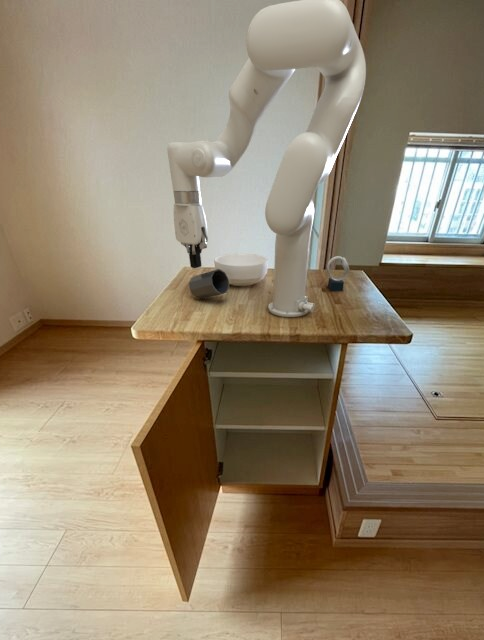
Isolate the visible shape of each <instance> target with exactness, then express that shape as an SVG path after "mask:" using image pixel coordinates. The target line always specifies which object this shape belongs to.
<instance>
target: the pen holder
mask: <svg viewBox="0 0 484 640" xmlns="http://www.w3.org/2000/svg"><path fill="white" fill-rule="evenodd" d="M188 287H189V291H190V293H191V295H192V296H193V297H194V298H196V299H199V300H204V299H208V298H212V297H217V296H221V295H225V294H227V293H228V291H229V289H230V284H229V279H228V277H227V275H226V273H225V272H224V271H222V270H220V269H217V270H215V269H214V270H211V271H210V270H209V271H207V272H204V273H201V274H197V275H194V276H192V277H191V278H190V280H189V283H188Z"/></svg>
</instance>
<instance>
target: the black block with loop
mask: <svg viewBox="0 0 484 640" xmlns="http://www.w3.org/2000/svg"><path fill="white" fill-rule="evenodd" d="M337 259H340V263H341V266H342V268H343V270H344V274H343V275H341V276H340V277H333V275H332V272H331V264H332V263H333V262H334V261H335V260H337ZM350 270H351V269H350V265H349V263H348V261H347V259H346V257H345V256H341V255H335V256H333V257H331V258H330V259H329V260H328V262H327V265H326V272H327V275H328V276H329V278H328V281H327V287H328V289H329V291H330V292H343V291H344V286H345V282H344V280H345V279H346V278H347V277H348V275H349V273H350Z"/></svg>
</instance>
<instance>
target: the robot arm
mask: <svg viewBox="0 0 484 640" xmlns="http://www.w3.org/2000/svg"><path fill="white" fill-rule="evenodd" d="M245 41H246V43H245V44H246V51H247V55H248V58H247V60H246V61H245V63H244V65H242V66H243V67H242V68H241V69H240V71H239V73H238V75H237V76H236V78H235V79H234V81H233V83H232V84H231V86H230V88H229V90H228V100H229V106H230V110H229V111H230V112H229V116H228V119H227V122H226V124H225V125H224V128H223V130H222V131H221V133H220V134H219V136H218V137H217V139H216V140H215V141H212V140H203V139H200V140H193V141H190V142H189V141H171V142H169V143H168V144H167V148H166V149H167V157H168V164H169V171H170V178H171V179H170V180H171V185H172V192H173V199H174V203H173V225H174V234H175V240H176V241H177V242H179V243H180V245H181V246H183V247H185V249H186V253H187V254H188V259H189V265H190V268H193V269H197V268H198V269H199V268H201V267H202V256H201V254H202V251H203V250H204V249H207V248H208V244H207V243H208V241H209V233H208V224H207V218H206V213H205V209H204V205H203V202H202V201H203V200H202V193H201V192H202V191H201V182H200V178H220V177H221V178H222V177H224V176H226V175H228V174H229V173H230V172H232V170H233V169H234V168H235V166H236V165H237V164H238V162H239V161H240V159H241V158H242V157H243V155H244V154H245V152H246V150H248V147H249V145H250V144H251V141H252V138H253V136H254V133H255V131H256V127H257V125H258V123H259V122H260V120H261V119H262V117H263V116H264V115H265V113H266V112H267V110H268V109H269V108H270V106H271V105H272V103H273V102H274V100H276V98H277V96H278V95H279V94H280V92H281V91H282V90H283V89H284V87H285V85H286V84H287V83H288V81H289V79H290V78H291V77H292V76H293V74H294V72H295V71H296V70H300V69H308V68H315V69H316V70H317V71H319V72H320V74H321V75H322V76H323V78H324V88H323V90H322V93H321V94H320V96H319V99H318V101H317V103H316V104H315V108H314V111H313V113H312V116H311V119H310V121H309V124H308V125H307V128H306V131H305V132H302V133H300V134H297V136H295V137H294V138H293V139H292V140H291V141H290V142H289V144H288V146H287V147H286V149H285V151H284V153H283V155H282V158H281V161H280V164H279V165H278V169H277V171H276V174H275V177H274V181H273V183H272V186H271V189H270V191H269V194H268V197H267V200H266V204H265V211H264V215H265V222H266V224H267V226H268V228H269V229H270V230H271V231H272V232H273V233H274V234H275V241H274V242H275V244H274V263H273V264H274V267H273V301H272V302H270V303H269V304H268V305H267V307H268V308H267V310H268V312H269V313H271V314H272V315H275V316H278V317H282V318H298V317H302V316H305V315H307V314H308V313H314V311H315V306H316V303H313V302H310V301H309V296H308V295H306V289H307V288H306V287H307V277H308V276H307V275H308V264H309V258H310V257H309V255H310V245H311V237H312V236H311V235H312V231H313V224H314V218H315V217H314V216H315V206H314V205H315V204H314V201H313V197H314V195H315V193H316V191H317V188H318V186H319V185H320V184H322V183H323V182H324V181H325V180H327V178H328V177H329V175H330V173H331V172H332V169H333V166H334V164H335V161H336V159H337V156H338V154H339V152H340V151H341V147H342V145H343V143H344V141H345V139H346V137H347V134H348V132H349V129H350V127H351V124H352V123H353V120H354V118H355V115H356V113H357V111H358V108H359V105H360V103H361V100H362V97H363V94H364V90H365V86H366V78H367V77H366V76H367V64H366V56H365V52H364V50H363V47H362V43H361V41H360V39H359V37H358V34H357V31H356V29H355V25H354V23H353V21H352V18H351V16H350V13H349V10H348V8H347V6H346V5H345V4H344V3H343V1H341V0H294V1H293V0H292V1H287V2H281V3H277V4H272V5H268V6H265V7H264V8H261V9H260V10H259V11H258V12H256V14H255V15H254V16H253V18H251V20H250V23H249V25H248V29H247V33H246V40H245Z"/></svg>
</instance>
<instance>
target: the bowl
mask: <svg viewBox="0 0 484 640" xmlns="http://www.w3.org/2000/svg"><path fill="white" fill-rule="evenodd" d="M213 262H214V270H217V269H220V270H222V271H224V272H225V273H226V275H227V277H228V279H229V286H235V287H237V286H238V287H247V286H253V285H256V284H258V283H259V282H260V281H262V280H263V279H264V278H265V276H266V275H267V274H268V267H269V259H268V258H267V257H266V256H263V255H261V254H256V253H244V252H242V253H241V252H240V253H239V252H237V253H227V254H222V255H218V256H216V257H214V260H213Z"/></svg>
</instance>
